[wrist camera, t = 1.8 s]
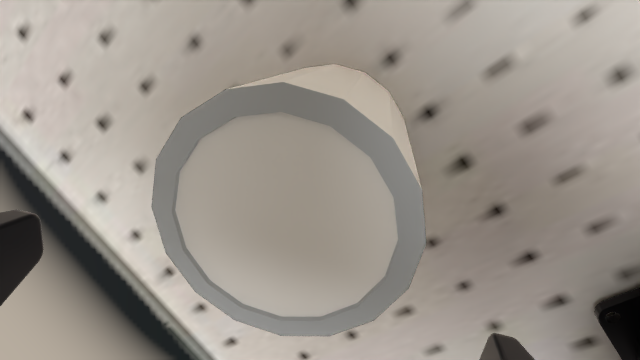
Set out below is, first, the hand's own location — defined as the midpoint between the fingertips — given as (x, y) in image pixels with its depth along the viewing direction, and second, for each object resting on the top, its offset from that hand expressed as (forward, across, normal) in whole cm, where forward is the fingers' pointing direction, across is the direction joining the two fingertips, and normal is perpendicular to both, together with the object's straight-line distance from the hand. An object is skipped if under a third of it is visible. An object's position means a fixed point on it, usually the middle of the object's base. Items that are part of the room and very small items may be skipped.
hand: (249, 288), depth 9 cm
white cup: (+10, 0, 0) cm, 10 cm away
